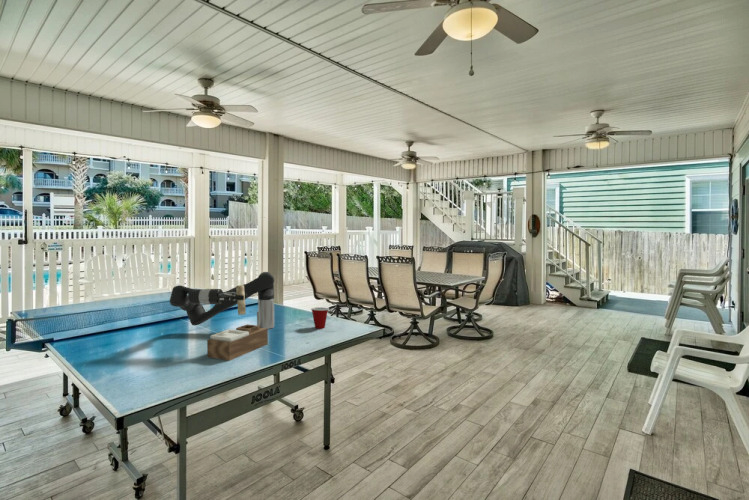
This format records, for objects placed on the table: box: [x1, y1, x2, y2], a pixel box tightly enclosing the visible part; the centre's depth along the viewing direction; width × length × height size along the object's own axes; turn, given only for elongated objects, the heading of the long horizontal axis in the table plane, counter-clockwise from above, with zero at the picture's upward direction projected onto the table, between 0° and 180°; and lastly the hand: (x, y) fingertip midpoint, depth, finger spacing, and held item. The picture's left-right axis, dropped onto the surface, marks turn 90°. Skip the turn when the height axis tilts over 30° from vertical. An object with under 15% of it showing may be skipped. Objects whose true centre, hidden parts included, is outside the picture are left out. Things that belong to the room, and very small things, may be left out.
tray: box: [210, 328, 249, 342], centre depth 182 cm, size 12×12×2 cm
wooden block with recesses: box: [206, 323, 269, 361], centre depth 188 cm, size 13×27×10 cm, turn 158°
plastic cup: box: [310, 306, 330, 330], centre depth 232 cm, size 11×11×12 cm
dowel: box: [235, 284, 247, 316], centre depth 190 cm, size 4×4×14 cm
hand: (245, 296), depth 190 cm, fingers closed on dowel, 3 cm apart
